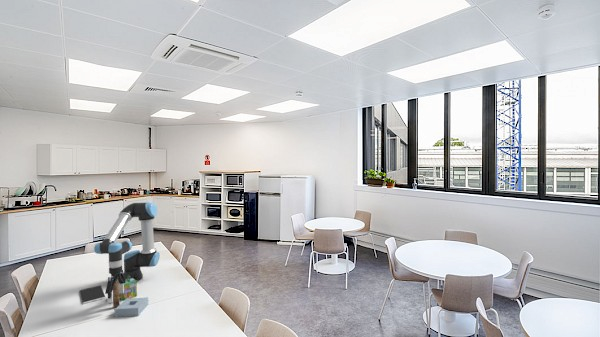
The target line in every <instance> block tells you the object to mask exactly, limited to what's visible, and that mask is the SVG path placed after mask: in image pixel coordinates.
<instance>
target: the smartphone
mask: <svg viewBox="0 0 600 337" xmlns="http://www.w3.org/2000/svg"><path fill="white" fill-rule="evenodd" d="M79 295H80V300H81V304H82V305H86V304H87V305H88V304H91V303H94V302H98V301H100V300H105V299H106V294H105V293H104V290H103V287H102V285H96V286H91V287H87V288H84V289H83V288H82V289H80V290H79Z"/></svg>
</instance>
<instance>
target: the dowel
mask: <svg viewBox="0 0 600 337" xmlns="http://www.w3.org/2000/svg"><path fill="white" fill-rule="evenodd" d="M112 292H113V303H112V306H113V307H112V309H114V310H115V309H116V308H117V307H118V306H119V305H120V304H121V303H120V302H121V301H120V298H119V281H116V283H115V284H114V287H113V290H112Z"/></svg>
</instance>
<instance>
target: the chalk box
mask: <svg viewBox="0 0 600 337" xmlns="http://www.w3.org/2000/svg"><path fill="white" fill-rule="evenodd" d="M128 278H129V279H128ZM119 284H121V283H119ZM137 286H138V281H136V280H135V279H133V278H131V277H130V276H127V279H126V281H125V283H124V293H120V294H119V299H121V300H122V302H123V301H124V300H125V299H128V298H137V296H138V292H137V291H138V289H137V288H138V287H137Z"/></svg>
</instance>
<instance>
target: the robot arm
mask: <svg viewBox="0 0 600 337" xmlns="http://www.w3.org/2000/svg"><path fill="white" fill-rule="evenodd" d="M157 215H158V208H157V205H156V204H155V203H153V202H150V201H149V202H132V203H130V204H128V205H127V206H125V207H124V208H123V209H121V210H120V212H119V213H118V218H117V219H116V220H115V222H114V223H113V225H112V227H111V228H110V230H109V231H108V232H107V234H106V236H105V237H104V238H103V240H102V241H101V242H97V243H96V244H95V245H94V248H93V251H94V253H95V254H96V255H97V254H99V255H103V254H104V255H107V254H108V267H109V268H108V274H110V276H109V277H107V284H106V288H105V293H104V295H107V304H113V287H114V284H115V283H117V282H119V283H121V284H119V294H120V293H124V283H125V281H126V279H127V276H130V277H131V278H133V279H135V280H136V281H137V282H138V281H141V280H142V279H143V277H144V273H143V272H142V269H141V268H151V267H155V266H157V265H158V263H159V261H160V258H161V257H160V255H161V254H160V252H159V251H157V248H155V238H154V223H153V222H154V219H155V217H156V216H157ZM133 218H138V221H139V222H140V230H141V245H142V250H139V249H135V250H132V249H133V243H132V242H131V241H130V240H123V241H118V239H119V237H120V236H121V235H122V233H123V231H124V229H125V228H126V226H127V224H128V223H129V222H130V221H131V220H132V219H133ZM117 241H118V242H117ZM130 250H131V251H130ZM128 279H129V278H128Z"/></svg>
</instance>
